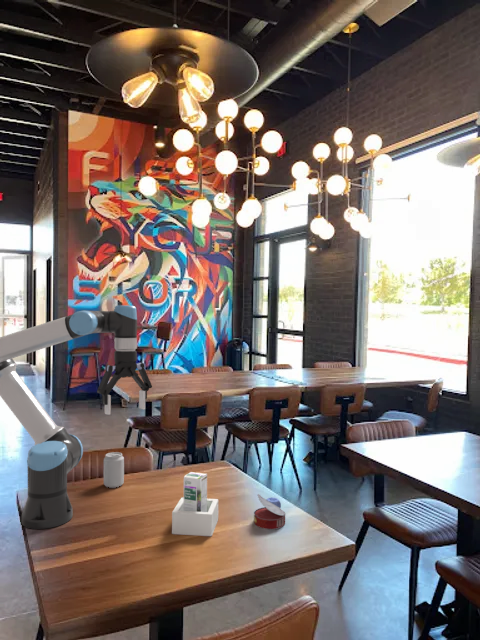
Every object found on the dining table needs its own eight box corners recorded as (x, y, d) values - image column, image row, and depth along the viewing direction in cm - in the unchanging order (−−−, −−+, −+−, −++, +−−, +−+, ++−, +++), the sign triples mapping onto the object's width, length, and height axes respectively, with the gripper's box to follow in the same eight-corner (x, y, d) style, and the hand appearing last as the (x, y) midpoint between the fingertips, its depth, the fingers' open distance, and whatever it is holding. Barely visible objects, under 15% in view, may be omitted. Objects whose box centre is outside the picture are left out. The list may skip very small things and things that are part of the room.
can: (112, 490, 182) (112, 458, 182) (99, 485, 186) (99, 454, 186) (128, 484, 188) (128, 453, 188) (115, 480, 192) (115, 450, 192)
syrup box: (182, 523, 150) (182, 476, 150) (190, 516, 155) (191, 470, 155) (199, 526, 148) (199, 478, 148) (207, 519, 153) (207, 472, 153)
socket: (211, 536, 145) (211, 514, 145) (172, 533, 146) (172, 512, 146) (218, 519, 157) (218, 499, 157) (181, 517, 158) (181, 497, 158)
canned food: (262, 530, 160) (267, 498, 164) (289, 535, 154) (294, 502, 158) (243, 524, 152) (249, 491, 156) (271, 529, 146) (276, 494, 150)
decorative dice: (273, 514, 161) (273, 502, 161) (264, 511, 163) (264, 499, 163) (281, 511, 164) (281, 499, 164) (271, 508, 166) (271, 496, 166)
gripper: (150, 347, 181) (149, 405, 181) (86, 351, 163) (86, 414, 163) (161, 349, 175) (161, 408, 175) (97, 352, 158) (97, 418, 158)
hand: (125, 411), depth 169 cm, fingers open, 13 cm apart
